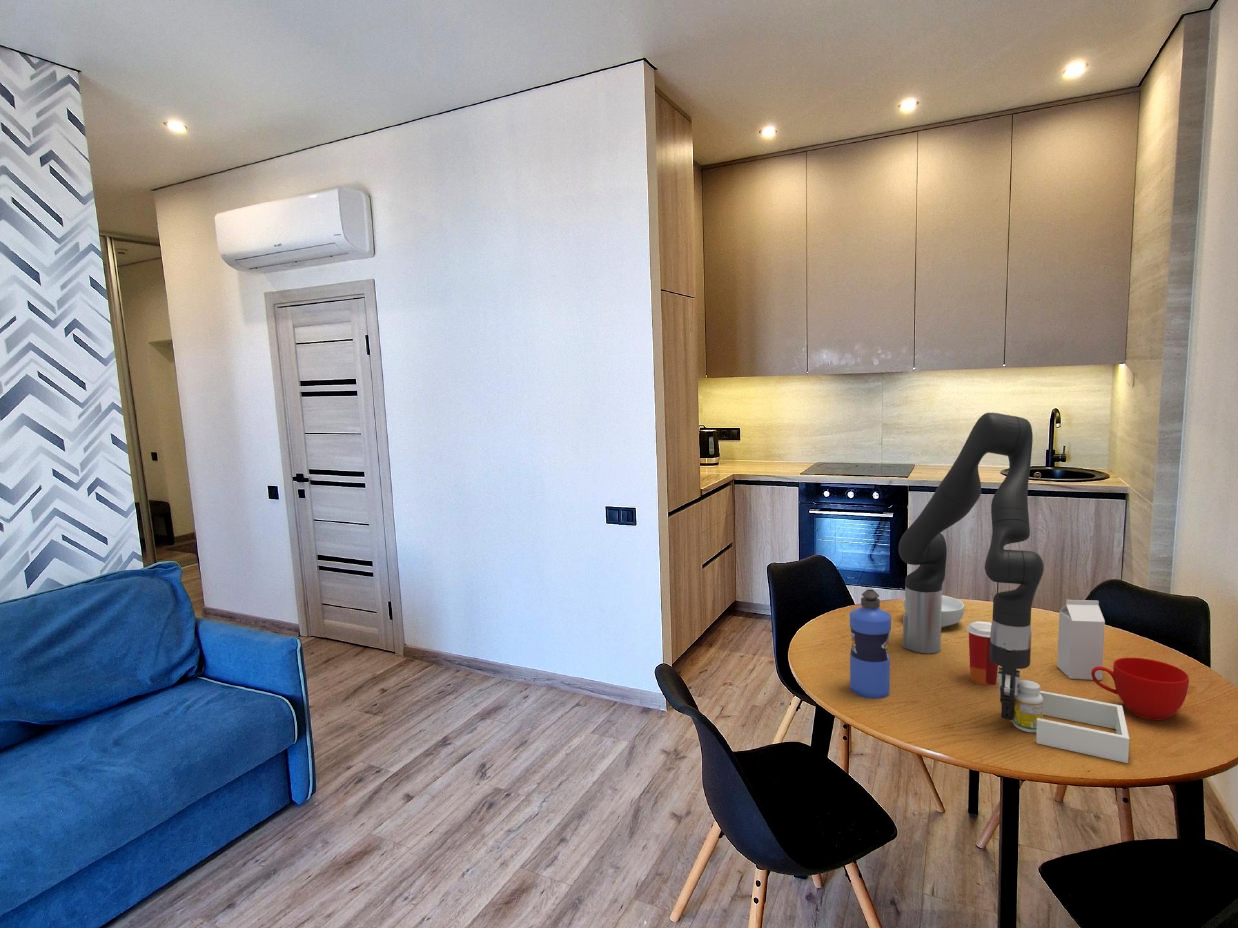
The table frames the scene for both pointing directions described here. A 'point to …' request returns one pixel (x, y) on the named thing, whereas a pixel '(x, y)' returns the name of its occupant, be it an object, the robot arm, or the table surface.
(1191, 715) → the table surface
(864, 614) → the water bottle
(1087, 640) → the milk carton
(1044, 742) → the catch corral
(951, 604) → the cereal bowl
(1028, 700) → the supplement bottle
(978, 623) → the paper cup
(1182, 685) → the ceramic cup
